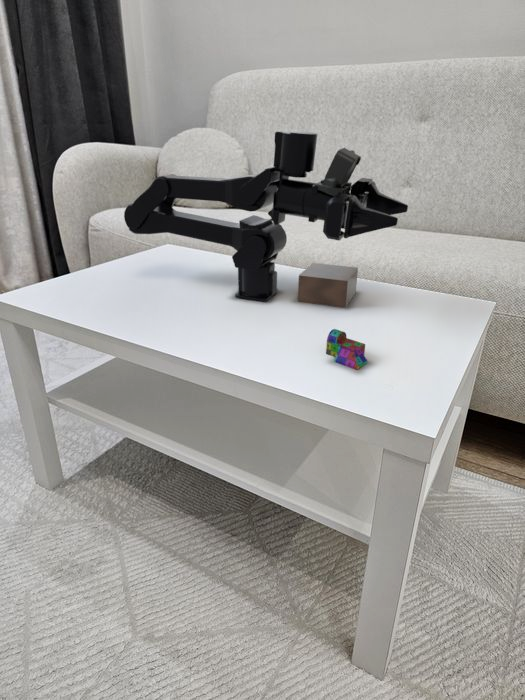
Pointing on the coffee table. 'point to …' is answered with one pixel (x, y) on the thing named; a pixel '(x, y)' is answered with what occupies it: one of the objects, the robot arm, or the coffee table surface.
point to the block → (345, 350)
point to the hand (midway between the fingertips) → (402, 214)
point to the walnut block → (327, 284)
